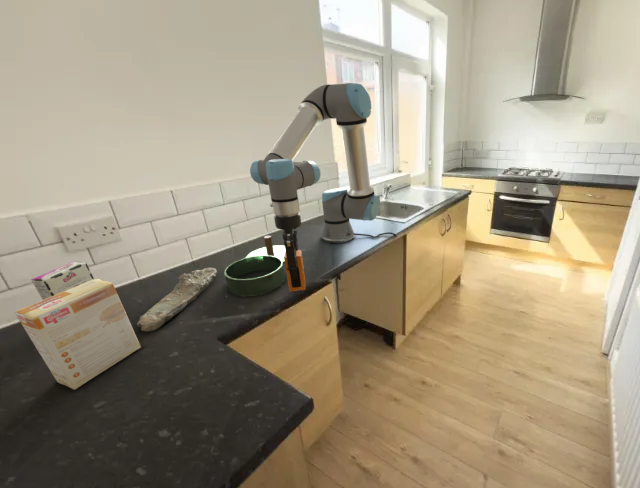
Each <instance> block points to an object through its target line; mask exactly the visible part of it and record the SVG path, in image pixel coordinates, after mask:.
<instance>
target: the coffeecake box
mask: <svg viewBox="0 0 640 488" xmlns="http://www.w3.org/2000/svg"><path fill="white" fill-rule="evenodd" d="M122 303H123V302H122V301H121V299H120V297H119V294H118V292H117V289H116V288H115V285H114V283H113V282H110V281H105V280H102V279H99V278H94V279H93V280H90V281H88V282H86V283H83V284H81V285H78V286H76V287H74V288H71V289H69V290H66V291H64V292H61V293H59V294H56V295H54V296H52V297H49V298H47V299H44V300H43V299H41V300H39V301H37V302H35V303H32V304H30V305H28V306H25V307H23V308H20V309H18V310H15V311H14V314H15V316H16V317H17V319H18V321H19V322H20V324H21V326H22V327H23V329H24V330H25V332H26V334H27V336H28V337H29V339H30V340H31V342H32V344H33V346H34V347H35V348H36V350H37V352H38V354H39V355H40V356H41V358H42V360H43V361H44V363H45V365H46V367H47V368H48V369H49V371H50V373H51V374H52V376H53V377H54V379H55V381H56V382H57V383H59V384H60V385H63V386H65V387H68V388H70V389H71V390H74V391H76V390H77V389H78V388H80V387H82V386H83V385H84V384H86V383H87V382H89V381H92V379H94V378H95V377H97V376H99V375H100V374H101V373H103V372H105V371H107V370H108V369H110V368H111V367H113V366H114V365H116V364H117V363H119V362H120V361H122V360H124V359H125V358H128V357H129V356H130V355H131V354H133V353H134V352H136V351H138V350H139V349H141V348H142V345H141V344H140V341H139V340H138V338H137V335H136V333H135V331H134V328H133V326H132V323H131V321H130V319H129V317H128V315H127V312H126V309H125V308H124V305H123V304H122Z"/></svg>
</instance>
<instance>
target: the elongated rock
mask: <svg viewBox="0 0 640 488" xmlns="http://www.w3.org/2000/svg"><path fill="white" fill-rule="evenodd" d="M217 275H218V271H217V269H216V268H214V267H205V268H202V269H195V270H193V271H190V272H189V273H182V274H180V275H179V278H178V280H179V281H178V282H177V283H176V285H174V288H173V290H172V291H170V293H167V294H166V295H165V296H164V297H162V298H161V299H160V300H159V301H158V302H157V303H155V304H154V305H153V306H151V308H149V309H147V311H146V312H145V313H144V314H142V315H140V316H139V320H138V321H137V323H136V325H137V327H140V331H142V332H152V331H157V330H158V329H160V328H161V327H162V326H163V325H164V324H165V323H167V322H169V321H170V320H171V319H173V317H175V316H176V315H177V314H179V313H181V312H182V311H183V310H184V309H185V308H186V307H187V306H189V305H190V304H191V303H192V302H193V301H195V300H196V299H197V297H198V296H199V295H200V294H202V292H204V291H205V290H206V289H207V288H208V287H209V286H210V285H211V284H212V283H213V282H214V280H215V279H216V277H217Z"/></svg>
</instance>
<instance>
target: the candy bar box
mask: <svg viewBox="0 0 640 488" xmlns="http://www.w3.org/2000/svg"><path fill="white" fill-rule="evenodd" d="M93 279H95V277H94V275H93V274H92V271H91V270H90V268H89V265H88V264H87V262H85V261H84V262H83V261H72V262H70V263H68V264H65V265H62V266H60V267H58V268H54V269H52V270H51V271H48V272H46V273H44V274H43V273H42V274H41V275H38V276H36V277H33V278H31V280H30V281H31V282H32V284H33V286H34V288H35V289H36V291H37V293H38V294H39V296H40V298H41V300H44V299H47V298H49V297H52V296H54V295H56V294H59V293H61V292H64V291H66V290H69V289H71V288H74V287H76V286H78V285H81V284H83V283H86V282H88V281H90V280H93Z"/></svg>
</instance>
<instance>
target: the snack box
mask: <svg viewBox="0 0 640 488" xmlns="http://www.w3.org/2000/svg"><path fill="white" fill-rule="evenodd" d="M302 253H303V252H302V249H298V250H296V257H297V265H298V267H299V274H300V281H301V287H294V288H292V282H291V276H290V271H289V270H287V268H288V262H287V256H286V251H285V256H284V261H285V262H284V267H285V273H286V279H287V285H288V291H289V292H297V291H306V285H307V281H306V274H305V266H304V259H303V254H302Z"/></svg>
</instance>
